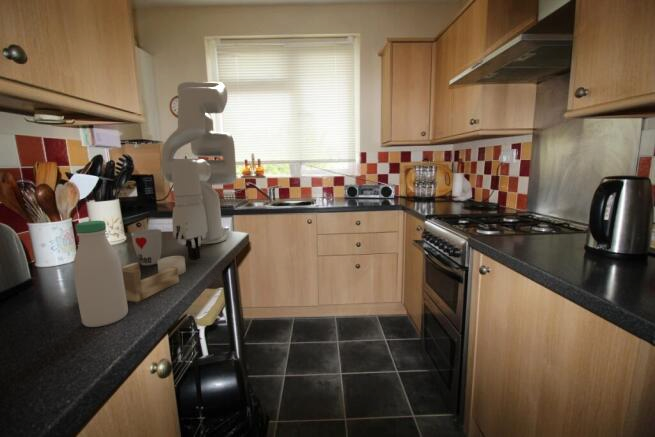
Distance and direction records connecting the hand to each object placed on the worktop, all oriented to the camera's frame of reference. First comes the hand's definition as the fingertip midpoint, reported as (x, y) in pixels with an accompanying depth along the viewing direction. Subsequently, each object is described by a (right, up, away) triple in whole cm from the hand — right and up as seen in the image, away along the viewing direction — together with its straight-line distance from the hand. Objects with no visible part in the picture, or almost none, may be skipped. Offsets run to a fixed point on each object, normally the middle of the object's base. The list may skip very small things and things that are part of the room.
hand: (194, 258), depth 97 cm
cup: (-14, -2, +1) cm, 15 cm away
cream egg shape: (-3, -3, -8) cm, 9 cm away
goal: (-7, -5, -18) cm, 20 cm away
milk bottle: (-4, -8, -34) cm, 35 cm away
